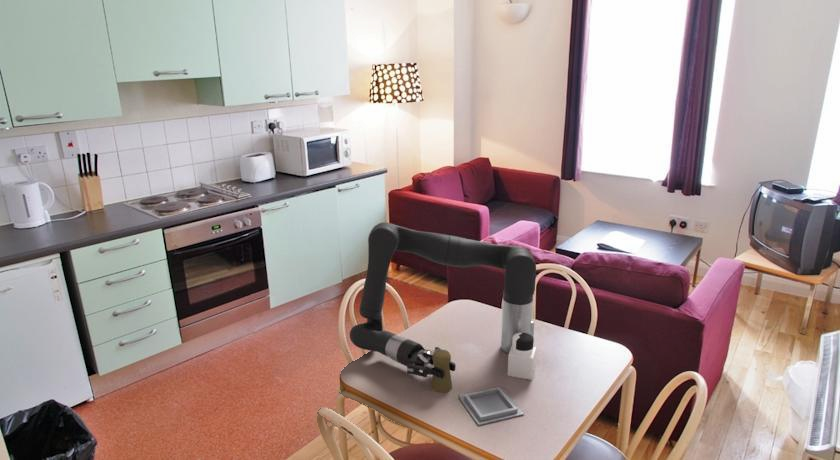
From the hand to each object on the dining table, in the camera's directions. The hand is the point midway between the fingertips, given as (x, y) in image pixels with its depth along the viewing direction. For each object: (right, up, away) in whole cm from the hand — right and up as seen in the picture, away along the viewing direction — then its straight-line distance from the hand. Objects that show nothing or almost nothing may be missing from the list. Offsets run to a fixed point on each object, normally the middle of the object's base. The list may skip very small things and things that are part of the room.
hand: (449, 371), depth 154 cm
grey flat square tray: (+11, -8, -5) cm, 14 cm away
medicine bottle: (+22, -3, +10) cm, 25 cm away
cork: (-2, -5, +4) cm, 7 cm away
